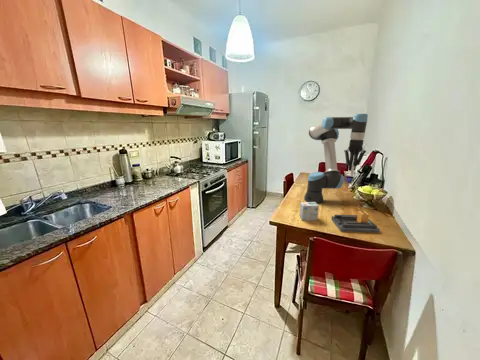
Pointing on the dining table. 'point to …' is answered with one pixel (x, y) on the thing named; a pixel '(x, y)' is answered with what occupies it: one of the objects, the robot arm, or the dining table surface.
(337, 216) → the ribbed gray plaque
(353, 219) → the breaker panel
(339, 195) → the dining table surface
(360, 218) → the lever
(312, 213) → the light bulb box
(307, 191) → the robot arm
